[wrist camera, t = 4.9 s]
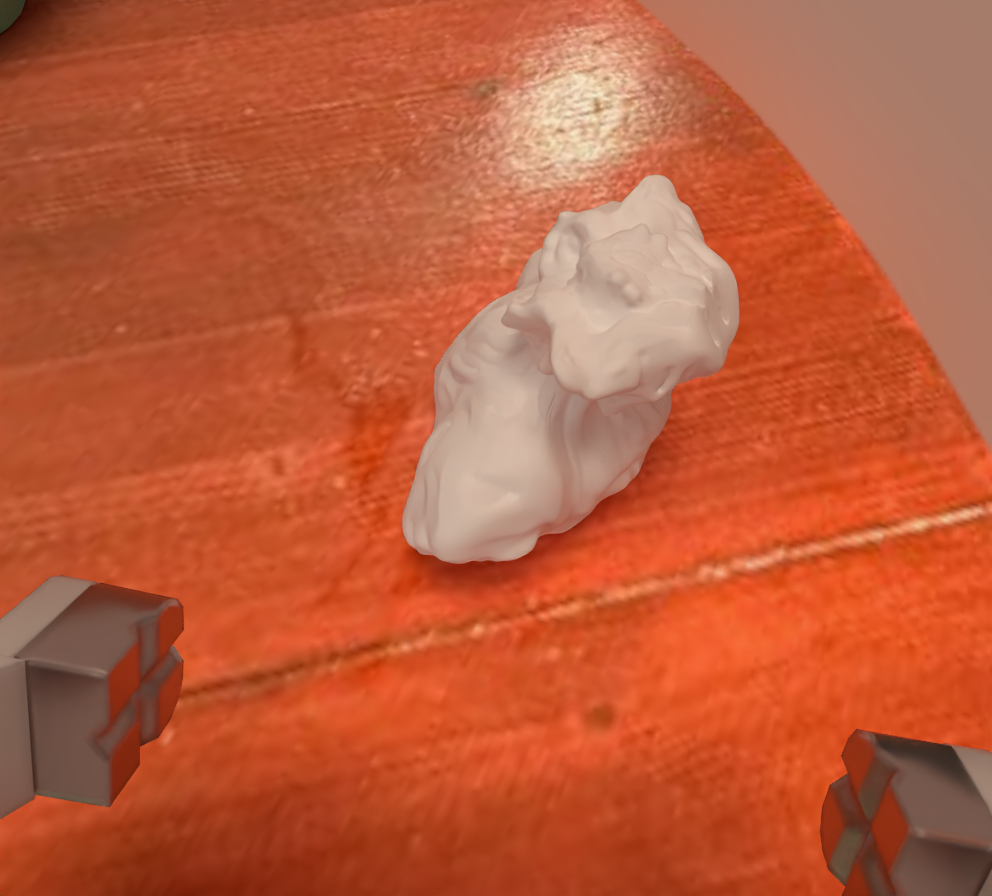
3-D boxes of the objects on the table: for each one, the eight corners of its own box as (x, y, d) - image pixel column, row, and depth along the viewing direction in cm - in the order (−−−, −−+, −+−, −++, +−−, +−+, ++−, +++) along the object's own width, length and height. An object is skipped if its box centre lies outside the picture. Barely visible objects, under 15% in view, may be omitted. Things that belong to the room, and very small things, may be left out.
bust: (463, 621, 26) (762, 680, 17) (266, 491, 23) (508, 478, 14) (609, 326, 31) (909, 248, 22) (461, 180, 27) (743, 15, 18)
